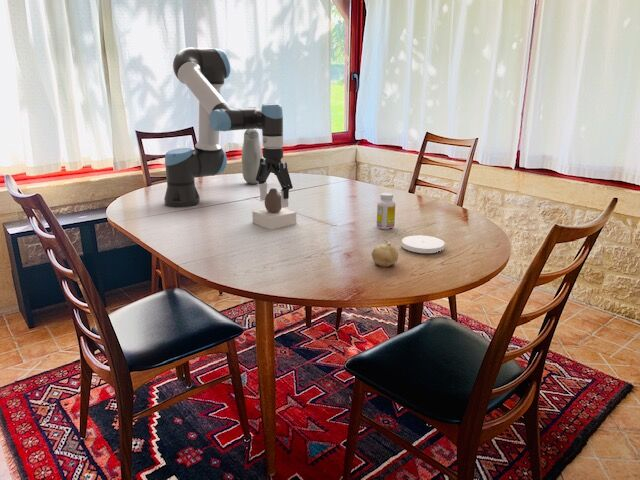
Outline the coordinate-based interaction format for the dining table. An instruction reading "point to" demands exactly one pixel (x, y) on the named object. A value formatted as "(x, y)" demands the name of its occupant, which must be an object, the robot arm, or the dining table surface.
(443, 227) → the dining table surface
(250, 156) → the grey-green rounded cylinder
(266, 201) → the vase
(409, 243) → the plastic lid
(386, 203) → the supplement bottle
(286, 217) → the riser block
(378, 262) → the onion
